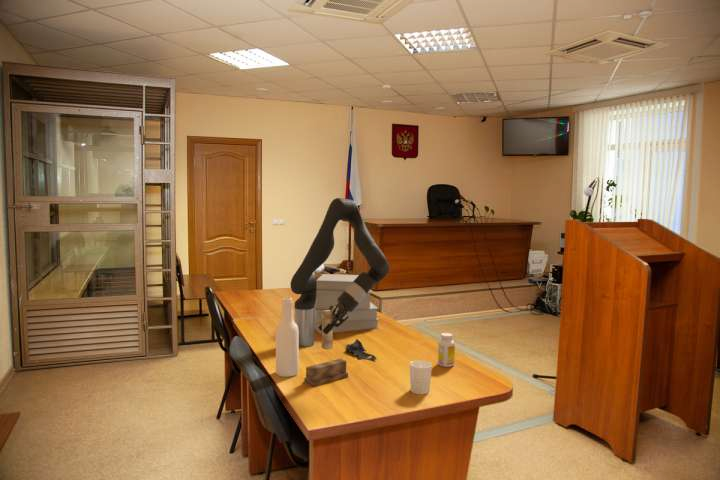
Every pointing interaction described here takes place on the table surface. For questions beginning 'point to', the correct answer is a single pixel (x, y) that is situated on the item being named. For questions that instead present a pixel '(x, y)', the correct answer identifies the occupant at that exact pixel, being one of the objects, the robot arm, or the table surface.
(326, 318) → the dowel
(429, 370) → the white cup
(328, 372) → the brown block
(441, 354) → the supplement bottle
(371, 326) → the book stack
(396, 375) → the table surface
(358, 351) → the decorative bat
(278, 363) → the alcohol
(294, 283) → the robot arm
